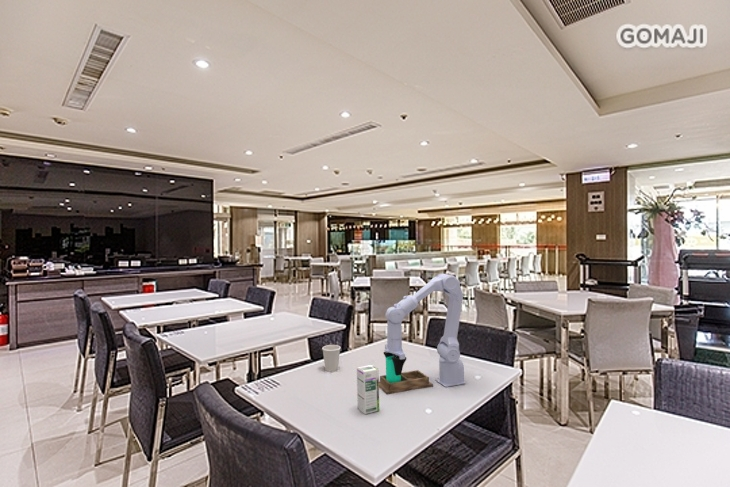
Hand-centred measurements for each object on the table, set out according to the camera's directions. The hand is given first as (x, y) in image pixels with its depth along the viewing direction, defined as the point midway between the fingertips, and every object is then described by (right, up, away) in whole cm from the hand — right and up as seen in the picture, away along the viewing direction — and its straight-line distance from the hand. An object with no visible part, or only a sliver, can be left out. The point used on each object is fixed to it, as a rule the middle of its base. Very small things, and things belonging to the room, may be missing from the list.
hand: (394, 372), depth 146 cm
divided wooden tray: (+4, -6, +2) cm, 7 cm away
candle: (-1, -5, 0) cm, 5 cm away
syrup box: (-11, -7, -19) cm, 23 cm away
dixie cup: (-27, -6, +21) cm, 35 cm away
